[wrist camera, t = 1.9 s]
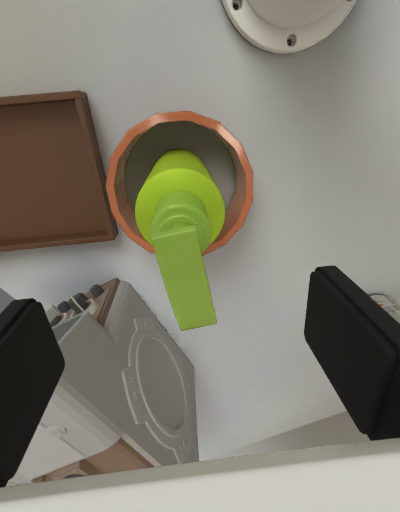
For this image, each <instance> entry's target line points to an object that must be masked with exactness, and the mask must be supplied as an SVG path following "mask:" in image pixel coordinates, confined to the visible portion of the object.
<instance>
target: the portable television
mask: <svg viewBox="0 0 400 512" xmlns="http://www.w3.org/2000/svg"><path fill="white" fill-rule="evenodd" d="M57 308H58V309H59V310H58V309H57ZM57 308H56V307H55V306H54V305H51V306H50V307H49V308H48V309H47V310H46V312H45V313H46V315H47V318H48V320H49V323H50V325H51V327H52V330H53V332H54V335H55V337H56V340H57V342H58V344H59V347H60V349H61V352H62V354H63V357H64V359H65V368H64V371H63V373H62V375H61V378H60V380H59V382H58V384H57V386H56V388H55V390H54V393H53V395H52V397H51V399H50V401H49V403H48V406H47V408H46V410H45V412H44V414H43V416H42V418H41V421H40V423H39V425H38V427H37V429H36V431H35V434H34V436H33V438H32V440H31V442H30V444H29V446H28V449H27V451H26V453H25V455H24V457H23V459H22V462H21V464H20V466H19V468H18V470H17V472H16V474H15V475H14V477H13V478H11V479H9V480H11V481H12V482H14V483H16V484H17V485H18V484H22V483H24V482H27V481H30V480H31V481H33V483H39V482H46V481H54V480H61V479H68V478H76V477H83V476H91V475H98V474H106V473H113V472H121V471H129V470H137V469H144V468H152V467H160V466H168V465H175V464H183V463H191V462H199V453H198V436H197V419H196V402H195V385H194V368H193V365H192V364H191V362H190V361H189V360H188V359H187V357H186V356H185V355H184V353H183V352H182V351H181V349H180V348H179V347H178V346H177V344H176V343H175V342H174V340H173V339H172V338H171V336H170V335H169V334H168V333H167V331H166V330H165V329H164V327H163V326H162V325H161V323H160V322H159V321H158V319H157V318H156V317H155V316H154V314H153V313H152V312H151V310H150V309H149V308H148V306H147V305H146V304H145V303H144V301H143V300H142V299H141V297H140V296H139V295H138V293H137V292H136V291H135V290H134V288H133V287H132V286H131V285H130V284H129V283H127V282H123V281H119V279H118V278H116V279H114V280H112V281H110V282H108V283H106V284H104V285H102V286H99V285H98V284H97V285H94V286H93V287H92V288H91V290H90V292H88V293H86V294H83V293H79V294H77V295H76V296H74V297H72V296H71V299H70V300H69V302H68V303H67V302H66V301H63V302H61V303H60V304H59V305H58V307H57Z"/></svg>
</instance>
